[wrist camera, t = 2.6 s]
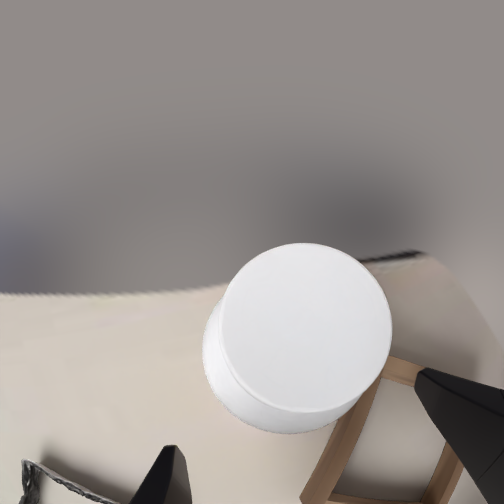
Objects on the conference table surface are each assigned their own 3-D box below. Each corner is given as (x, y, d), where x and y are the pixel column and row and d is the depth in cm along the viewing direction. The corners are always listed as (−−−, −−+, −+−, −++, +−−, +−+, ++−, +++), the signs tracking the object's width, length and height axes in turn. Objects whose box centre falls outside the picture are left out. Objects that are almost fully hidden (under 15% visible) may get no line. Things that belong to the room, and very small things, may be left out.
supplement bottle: (295, 432, 16) (366, 485, 4) (207, 389, 17) (128, 371, 6) (336, 349, 19) (440, 268, 7) (254, 310, 20) (254, 185, 9)
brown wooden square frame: (469, 389, 16) (487, 385, 14) (423, 512, 11) (438, 519, 8) (361, 356, 18) (375, 350, 16) (299, 497, 13) (305, 509, 11)
